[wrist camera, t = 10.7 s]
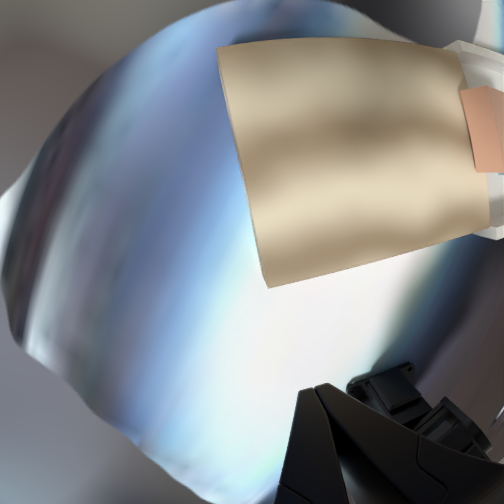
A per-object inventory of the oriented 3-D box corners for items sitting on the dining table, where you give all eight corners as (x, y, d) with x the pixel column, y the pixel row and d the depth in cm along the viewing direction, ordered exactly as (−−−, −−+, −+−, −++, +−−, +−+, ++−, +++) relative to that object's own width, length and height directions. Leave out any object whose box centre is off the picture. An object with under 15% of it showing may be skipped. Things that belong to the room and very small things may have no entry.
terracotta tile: (503, 166, 17) (526, 167, 15) (476, 172, 16) (504, 172, 14) (489, 99, 16) (511, 95, 14) (459, 91, 14) (485, 85, 12)
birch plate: (470, 223, 20) (490, 227, 17) (262, 275, 19) (268, 288, 17) (438, 60, 17) (456, 51, 14) (217, 64, 16) (216, 47, 13)
